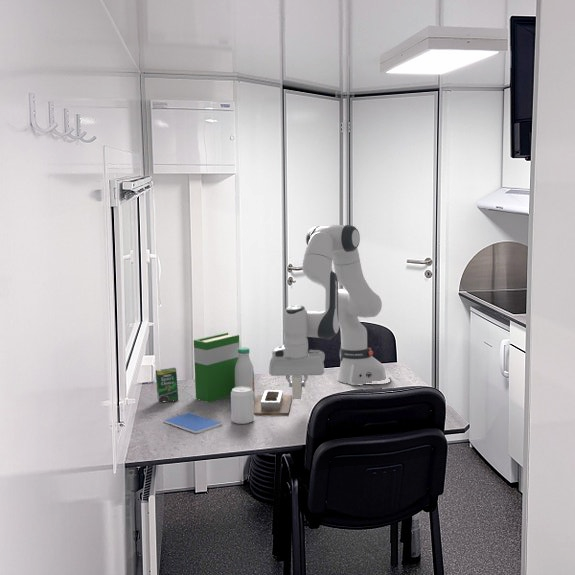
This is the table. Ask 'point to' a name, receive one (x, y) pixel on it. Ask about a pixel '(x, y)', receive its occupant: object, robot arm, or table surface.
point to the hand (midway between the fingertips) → (297, 386)
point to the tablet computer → (193, 423)
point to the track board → (283, 410)
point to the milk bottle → (244, 369)
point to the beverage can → (242, 405)
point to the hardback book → (215, 366)
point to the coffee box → (167, 384)
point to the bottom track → (271, 404)
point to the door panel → (296, 386)
